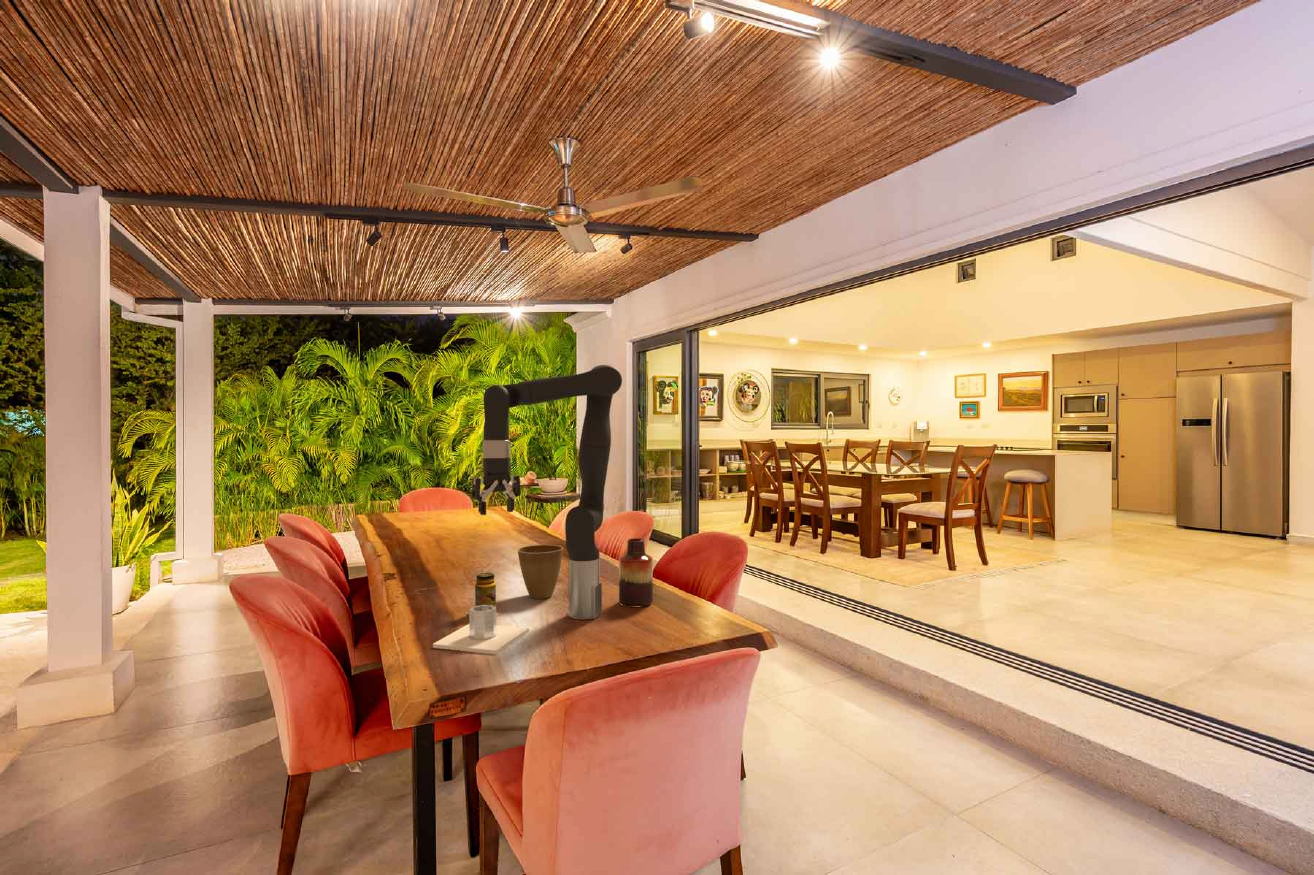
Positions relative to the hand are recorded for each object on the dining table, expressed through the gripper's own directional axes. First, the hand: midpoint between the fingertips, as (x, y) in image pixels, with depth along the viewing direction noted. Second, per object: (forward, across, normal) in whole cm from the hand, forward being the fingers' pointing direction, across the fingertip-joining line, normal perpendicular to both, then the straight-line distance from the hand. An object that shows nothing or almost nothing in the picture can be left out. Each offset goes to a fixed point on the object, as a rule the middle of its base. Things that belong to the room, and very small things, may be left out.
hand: (496, 513), depth 178 cm
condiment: (+32, -3, -13) cm, 35 cm away
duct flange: (+32, +8, +7) cm, 34 cm away
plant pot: (+32, -27, -18) cm, 45 cm away
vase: (+32, -44, +10) cm, 56 cm away
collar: (+31, +8, +7) cm, 33 cm away
